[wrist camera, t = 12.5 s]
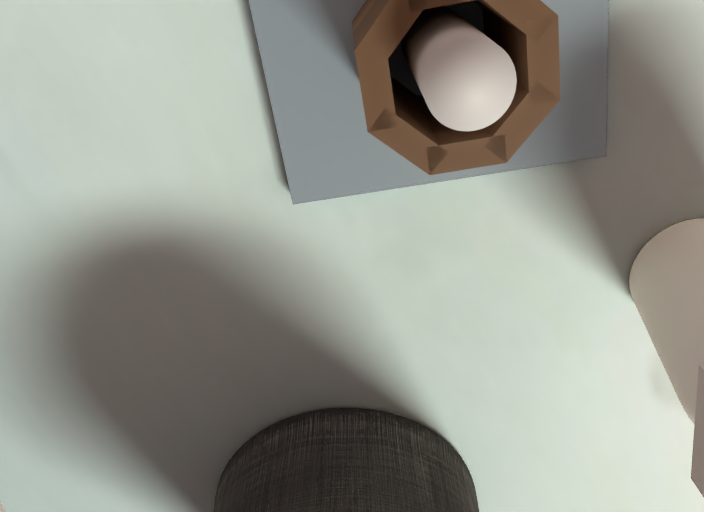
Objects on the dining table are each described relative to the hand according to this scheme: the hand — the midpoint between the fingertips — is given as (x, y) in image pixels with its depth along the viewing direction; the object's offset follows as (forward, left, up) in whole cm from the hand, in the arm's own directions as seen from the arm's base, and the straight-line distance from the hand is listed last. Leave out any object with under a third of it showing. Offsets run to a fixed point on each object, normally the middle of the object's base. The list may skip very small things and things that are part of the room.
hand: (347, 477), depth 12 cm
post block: (+5, +4, -23) cm, 24 cm away
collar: (+5, +4, -22) cm, 23 cm away
